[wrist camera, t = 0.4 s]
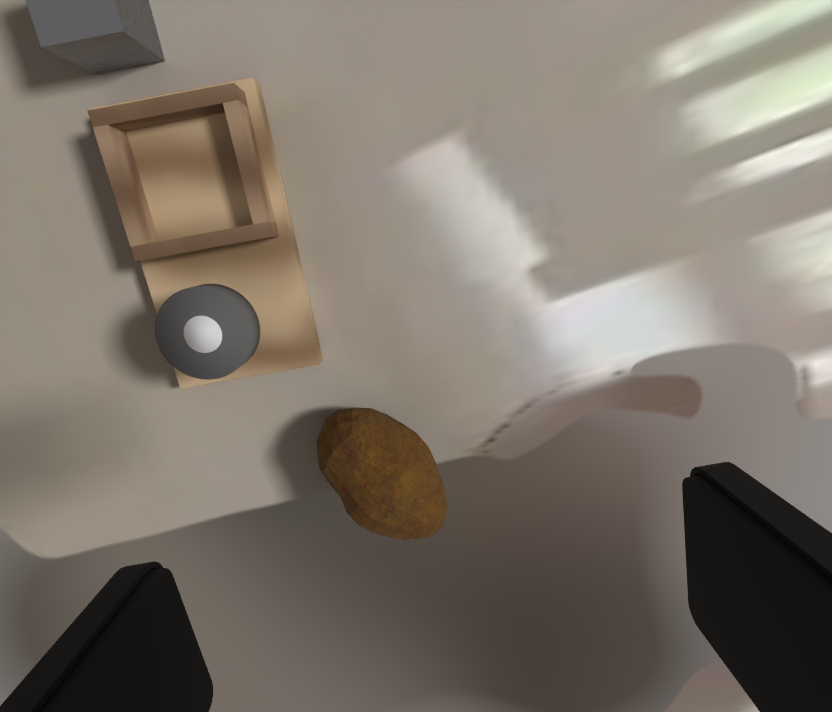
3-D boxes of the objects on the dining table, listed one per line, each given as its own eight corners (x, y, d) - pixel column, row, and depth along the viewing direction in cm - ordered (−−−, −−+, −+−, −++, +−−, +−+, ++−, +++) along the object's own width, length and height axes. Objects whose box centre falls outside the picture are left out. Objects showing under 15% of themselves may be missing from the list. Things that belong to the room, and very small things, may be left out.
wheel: (158, 292, 31) (141, 296, 29) (247, 276, 31) (236, 279, 29) (185, 377, 33) (171, 386, 31) (269, 363, 33) (261, 371, 31)
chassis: (106, 113, 33) (71, 100, 30) (259, 84, 33) (242, 67, 30) (188, 382, 38) (167, 396, 35) (322, 359, 38) (314, 371, 34)
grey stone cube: (70, -8, 32) (8, -52, 27) (143, -23, 31) (94, -70, 27) (95, 75, 33) (40, 47, 28) (165, 61, 33) (123, 31, 28)
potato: (361, 372, 38) (349, 406, 31) (473, 464, 40) (488, 516, 33) (299, 443, 40) (273, 491, 32) (411, 527, 42) (411, 592, 34)
